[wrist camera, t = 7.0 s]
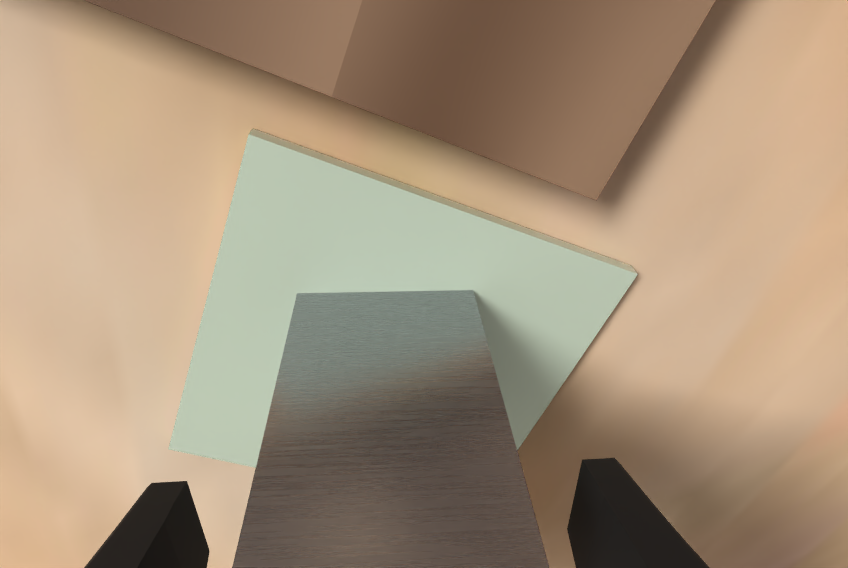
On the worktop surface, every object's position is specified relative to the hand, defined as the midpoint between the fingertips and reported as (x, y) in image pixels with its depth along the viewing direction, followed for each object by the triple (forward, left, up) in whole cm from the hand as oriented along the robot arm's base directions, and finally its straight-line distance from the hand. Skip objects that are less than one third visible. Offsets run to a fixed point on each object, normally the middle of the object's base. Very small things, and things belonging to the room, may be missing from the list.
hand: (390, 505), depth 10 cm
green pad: (0, 0, -4) cm, 4 cm away
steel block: (0, 0, -4) cm, 4 cm away
